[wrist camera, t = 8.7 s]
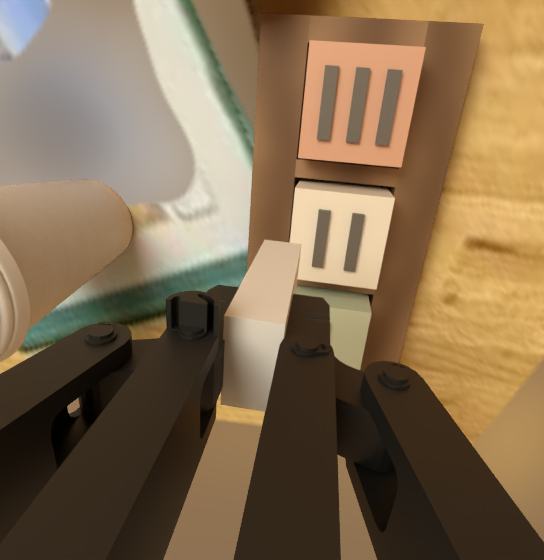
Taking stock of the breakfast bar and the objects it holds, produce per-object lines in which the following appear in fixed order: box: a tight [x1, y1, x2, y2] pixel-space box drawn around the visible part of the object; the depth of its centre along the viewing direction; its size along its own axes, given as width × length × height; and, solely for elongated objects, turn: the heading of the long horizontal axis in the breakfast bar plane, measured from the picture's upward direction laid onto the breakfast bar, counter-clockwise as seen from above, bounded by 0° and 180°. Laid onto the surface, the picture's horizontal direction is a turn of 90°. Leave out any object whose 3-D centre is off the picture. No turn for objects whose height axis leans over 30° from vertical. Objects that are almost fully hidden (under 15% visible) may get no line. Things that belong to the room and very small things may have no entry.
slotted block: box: [296, 284, 372, 370], centre depth 28 cm, size 6×6×4 cm
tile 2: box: [290, 179, 395, 290], centre depth 25 cm, size 6×6×4 cm
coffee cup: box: [0, 179, 133, 362], centre depth 23 cm, size 10×10×15 cm
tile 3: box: [298, 40, 426, 168], centre depth 22 cm, size 6×6×4 cm
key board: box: [247, 13, 484, 372], centre depth 26 cm, size 12×24×2 cm, turn 175°
